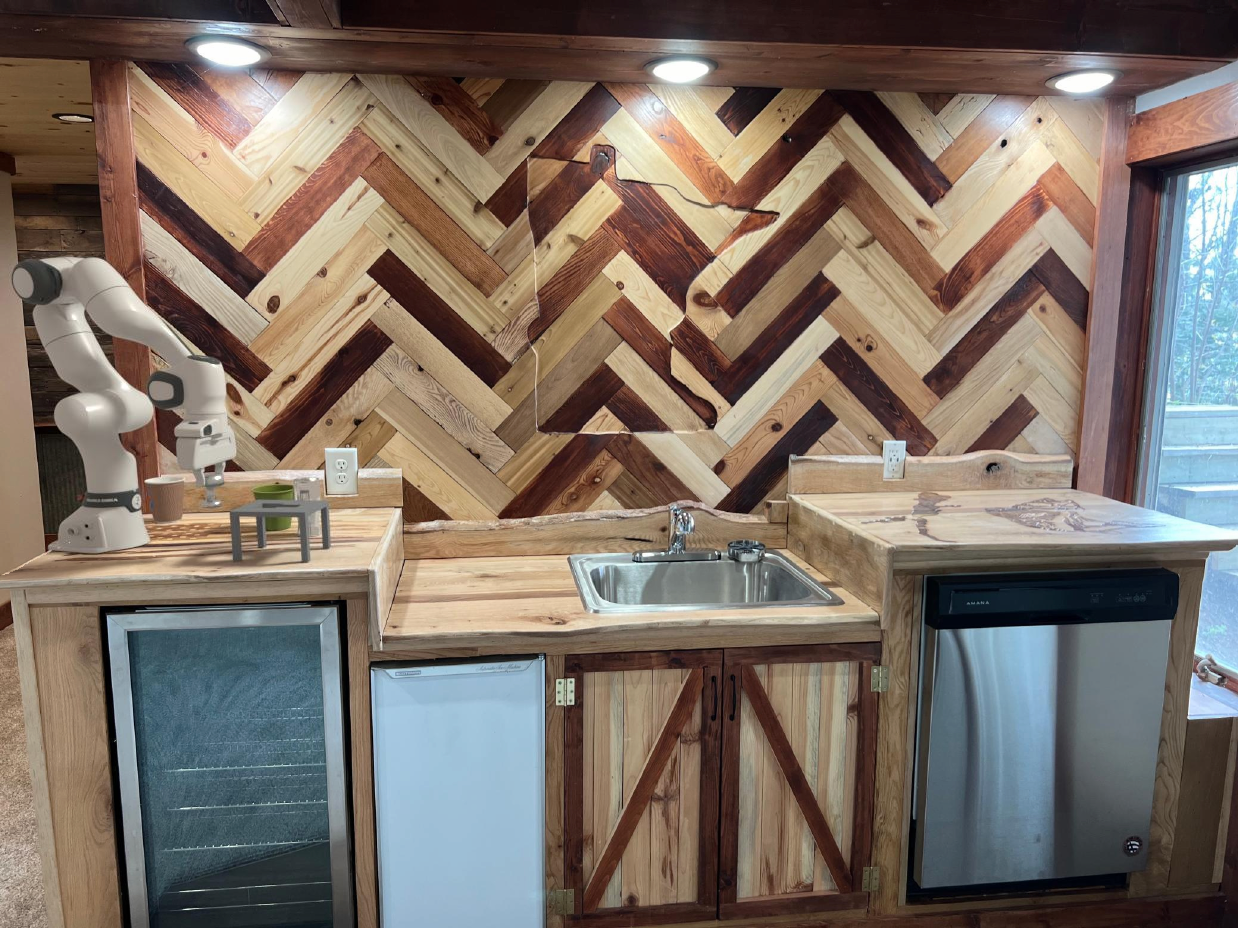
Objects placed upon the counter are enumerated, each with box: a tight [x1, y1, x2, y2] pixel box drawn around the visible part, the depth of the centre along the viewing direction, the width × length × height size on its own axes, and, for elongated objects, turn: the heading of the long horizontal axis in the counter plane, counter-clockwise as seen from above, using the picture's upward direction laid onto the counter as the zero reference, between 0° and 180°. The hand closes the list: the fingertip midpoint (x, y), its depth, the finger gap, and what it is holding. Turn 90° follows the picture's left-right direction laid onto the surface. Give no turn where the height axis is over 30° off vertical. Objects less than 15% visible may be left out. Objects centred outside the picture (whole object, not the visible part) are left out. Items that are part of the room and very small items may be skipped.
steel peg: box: [195, 472, 225, 509], centre depth 201 cm, size 6×6×8 cm
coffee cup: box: [144, 476, 186, 524], centre depth 241 cm, size 10×10×12 cm
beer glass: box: [292, 476, 322, 538], centre depth 225 cm, size 7×7×15 cm
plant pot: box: [250, 483, 293, 531], centre depth 232 cm, size 12×12×11 cm
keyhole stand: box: [229, 499, 332, 563], centre depth 205 cm, size 18×14×12 cm
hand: (210, 483), depth 201 cm, fingers closed on steel peg, 6 cm apart
